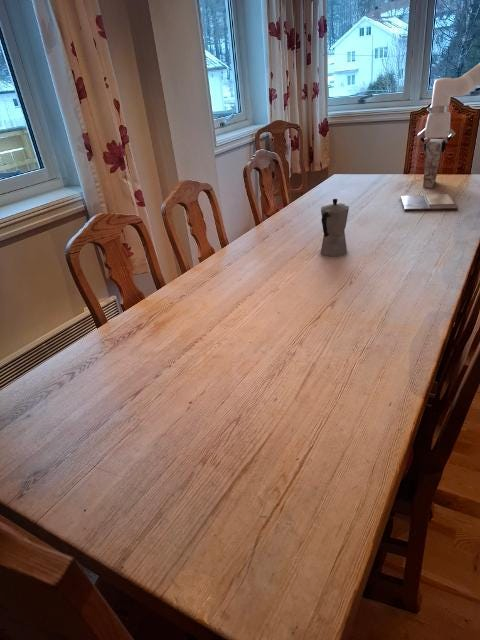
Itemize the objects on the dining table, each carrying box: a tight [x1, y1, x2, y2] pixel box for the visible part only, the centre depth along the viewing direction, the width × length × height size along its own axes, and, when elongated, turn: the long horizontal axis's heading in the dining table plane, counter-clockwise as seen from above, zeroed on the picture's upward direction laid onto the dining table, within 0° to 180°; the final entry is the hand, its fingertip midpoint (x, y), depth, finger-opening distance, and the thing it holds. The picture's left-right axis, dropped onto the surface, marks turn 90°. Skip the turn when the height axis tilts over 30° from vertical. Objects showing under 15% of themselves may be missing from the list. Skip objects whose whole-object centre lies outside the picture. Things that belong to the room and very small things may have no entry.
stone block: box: [422, 138, 444, 189], centre depth 203 cm, size 13×7×20 cm, turn 158°
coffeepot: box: [320, 198, 350, 257], centre depth 141 cm, size 15×9×18 cm, turn 145°
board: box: [400, 193, 459, 212], centre depth 182 cm, size 20×20×1 cm
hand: (433, 151), depth 200 cm, fingers closed on stone block, 6 cm apart
